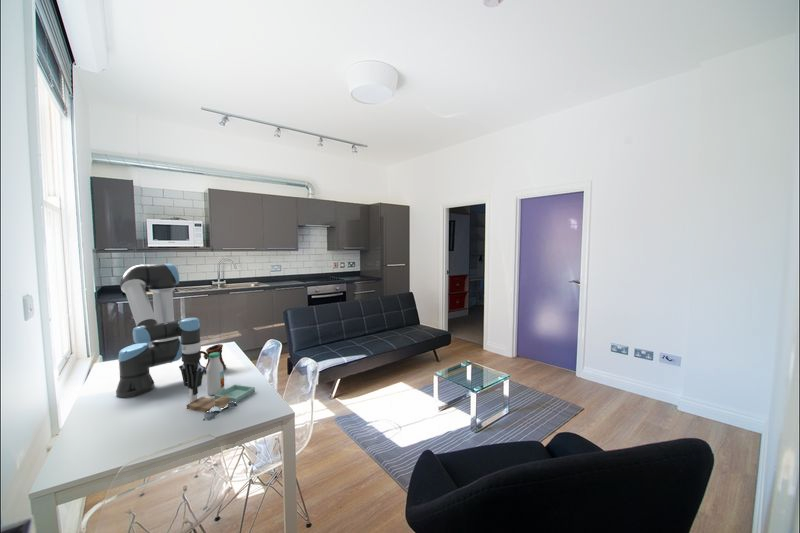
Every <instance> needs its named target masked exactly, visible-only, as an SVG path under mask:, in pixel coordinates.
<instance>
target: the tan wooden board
mask: <svg viewBox="0 0 800 533" xmlns="http://www.w3.org/2000/svg"><path fill="white" fill-rule="evenodd" d="M215 400H216V399H215V398H211V397H206V396H205V397H204V396H201V397H198V398H197V400H195V401H193V402H189V403H187V404H186V406H185V407H186V410H189V411H194V412H201V413H206V412H207V411H209V410H210V409H211V408H212V407H214V406H215V404H214V401H215Z"/></svg>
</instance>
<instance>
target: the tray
mask: <svg viewBox="0 0 800 533" xmlns="http://www.w3.org/2000/svg"><path fill="white" fill-rule="evenodd" d="M255 390H256V388H255V386H248V385H241V384H232V385H231V386H229V387H227V388H226V389H224V390H223V391H222V392H220V393H218V394H216V395H214V399H218V398H220V397H222V396H229V401H233V402H236V404H238V403H239V402H241V401H243V400H245V399H246V398H248V397H249V396H251V395H253V394H254V393H255V392H256V391H255Z"/></svg>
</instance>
